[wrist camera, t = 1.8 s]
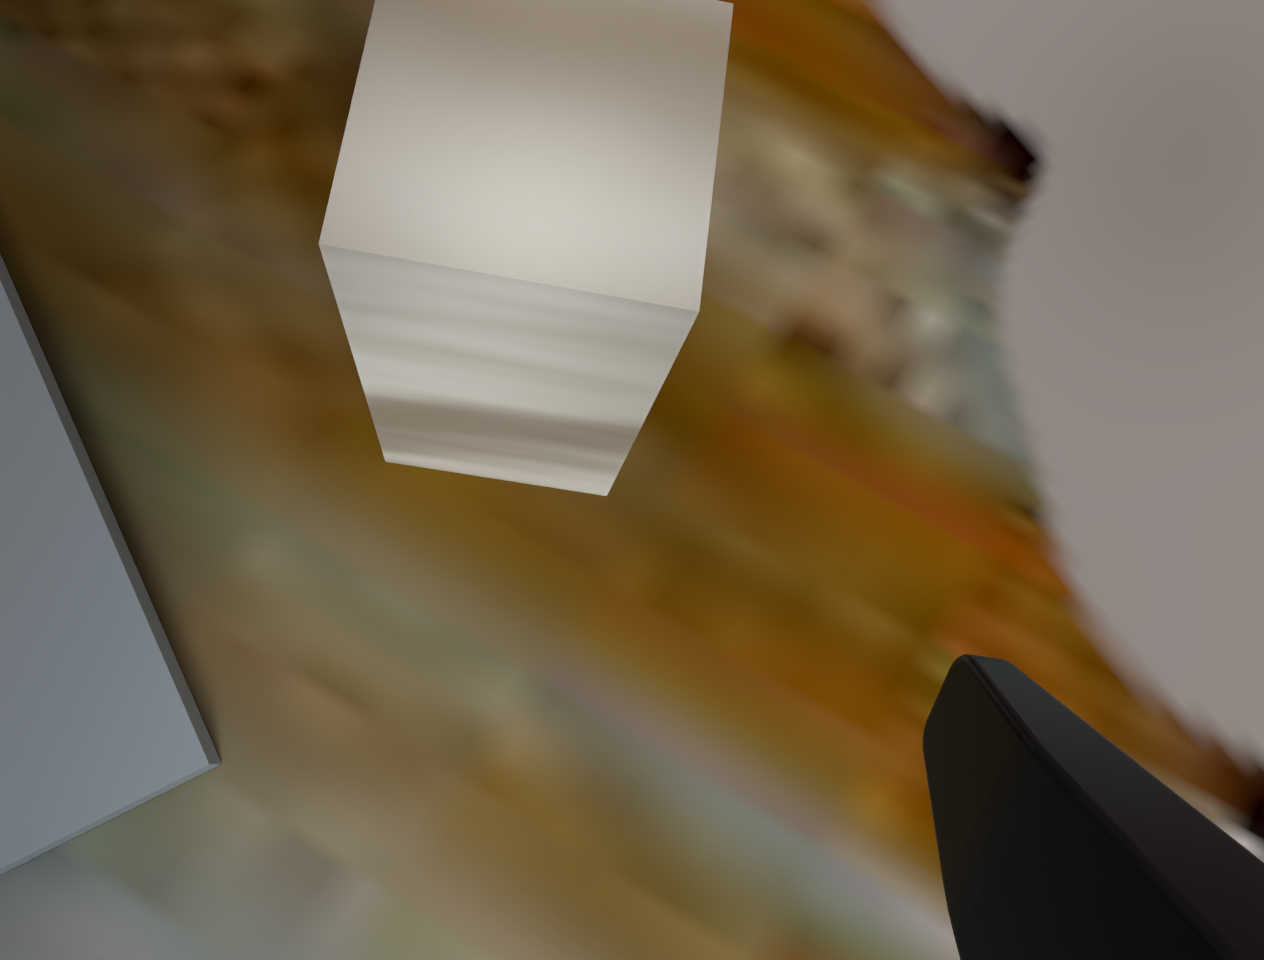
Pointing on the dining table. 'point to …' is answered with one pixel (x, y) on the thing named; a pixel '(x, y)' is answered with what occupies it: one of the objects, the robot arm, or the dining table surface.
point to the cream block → (525, 225)
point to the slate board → (73, 630)
